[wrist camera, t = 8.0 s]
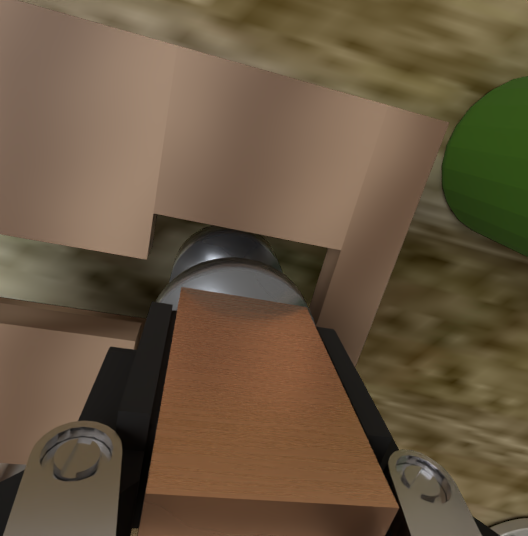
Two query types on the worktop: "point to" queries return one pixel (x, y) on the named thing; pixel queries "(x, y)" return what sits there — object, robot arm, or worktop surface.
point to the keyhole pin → (254, 409)
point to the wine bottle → (492, 166)
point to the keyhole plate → (180, 185)
